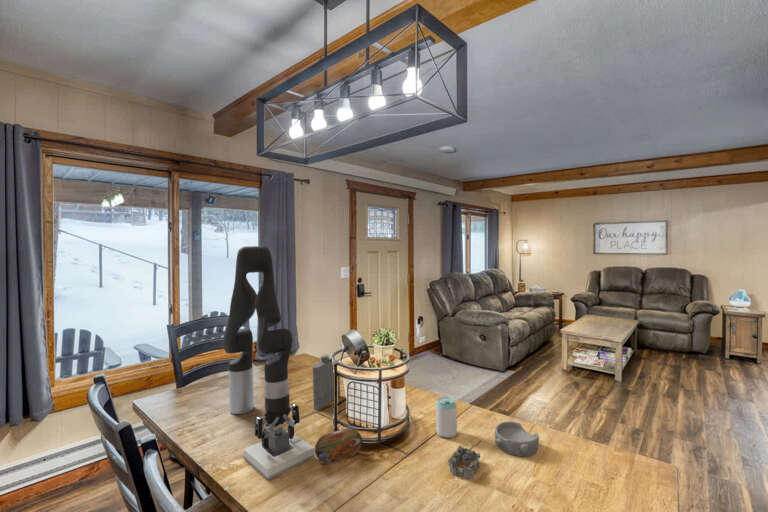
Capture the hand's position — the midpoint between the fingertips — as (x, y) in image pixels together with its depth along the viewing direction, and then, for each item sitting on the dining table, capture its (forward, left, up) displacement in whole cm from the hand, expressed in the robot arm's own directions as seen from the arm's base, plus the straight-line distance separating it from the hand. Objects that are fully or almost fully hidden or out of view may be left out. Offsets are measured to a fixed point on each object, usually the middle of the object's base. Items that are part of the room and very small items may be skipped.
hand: (278, 443), depth 119 cm
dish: (+51, +57, -5) cm, 77 cm away
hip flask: (-23, +35, -5) cm, 42 cm away
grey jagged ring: (+46, +36, -5) cm, 58 cm away
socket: (0, 0, -5) cm, 5 cm away
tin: (+14, +13, -5) cm, 20 cm away
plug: (0, 0, -4) cm, 4 cm away
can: (+30, +48, -5) cm, 57 cm away
